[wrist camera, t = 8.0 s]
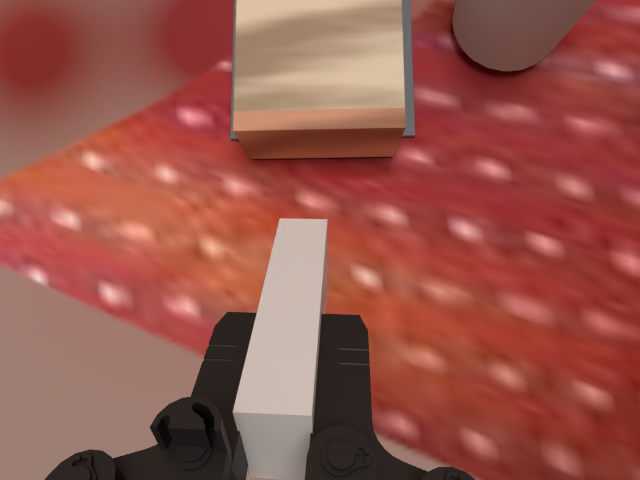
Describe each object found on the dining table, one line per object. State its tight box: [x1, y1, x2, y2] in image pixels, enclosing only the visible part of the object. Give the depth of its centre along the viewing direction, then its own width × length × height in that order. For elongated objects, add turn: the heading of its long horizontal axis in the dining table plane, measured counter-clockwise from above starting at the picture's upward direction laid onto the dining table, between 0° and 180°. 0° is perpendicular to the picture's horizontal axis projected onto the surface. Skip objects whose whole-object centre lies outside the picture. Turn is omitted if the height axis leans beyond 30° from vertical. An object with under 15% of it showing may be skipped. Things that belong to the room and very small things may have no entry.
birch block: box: [233, 0, 406, 159], centre depth 27 cm, size 5×10×14 cm
